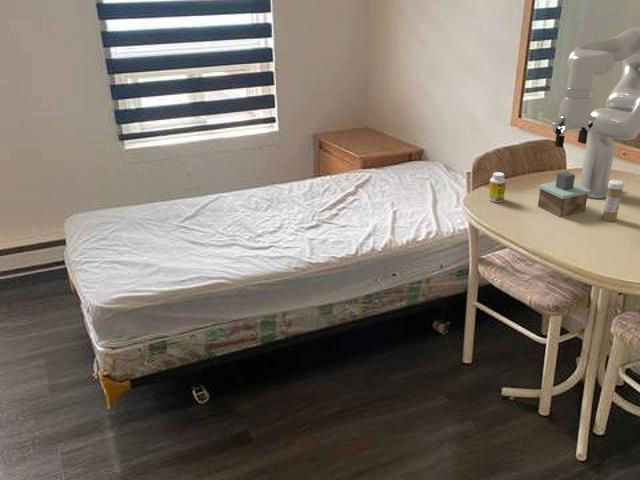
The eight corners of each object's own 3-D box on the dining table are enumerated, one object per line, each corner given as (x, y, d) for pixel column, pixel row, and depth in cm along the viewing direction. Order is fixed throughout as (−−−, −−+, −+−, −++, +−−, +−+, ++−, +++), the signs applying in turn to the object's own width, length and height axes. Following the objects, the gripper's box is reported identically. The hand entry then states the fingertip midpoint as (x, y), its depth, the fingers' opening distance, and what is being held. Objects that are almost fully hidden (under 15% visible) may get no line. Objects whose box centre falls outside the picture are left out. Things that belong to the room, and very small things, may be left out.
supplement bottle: (496, 204, 215) (499, 177, 211) (485, 199, 219) (487, 173, 215) (507, 200, 218) (509, 174, 213) (495, 196, 222) (497, 170, 218)
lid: (564, 185, 213) (567, 166, 210) (589, 195, 203) (593, 176, 200) (537, 190, 210) (540, 171, 207) (561, 201, 199) (564, 182, 196)
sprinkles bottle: (608, 215, 202) (615, 178, 197) (619, 220, 199) (627, 182, 193) (598, 218, 201) (605, 180, 195) (610, 223, 197) (617, 185, 191)
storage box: (562, 201, 215) (565, 183, 212) (584, 211, 206) (587, 192, 203) (537, 206, 212) (540, 187, 209) (559, 217, 203) (562, 198, 200)
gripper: (590, 88, 197) (582, 138, 205) (548, 94, 192) (542, 145, 199) (608, 92, 191) (598, 144, 198) (565, 98, 186) (557, 151, 193)
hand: (570, 144), depth 199 cm, fingers open, 9 cm apart
